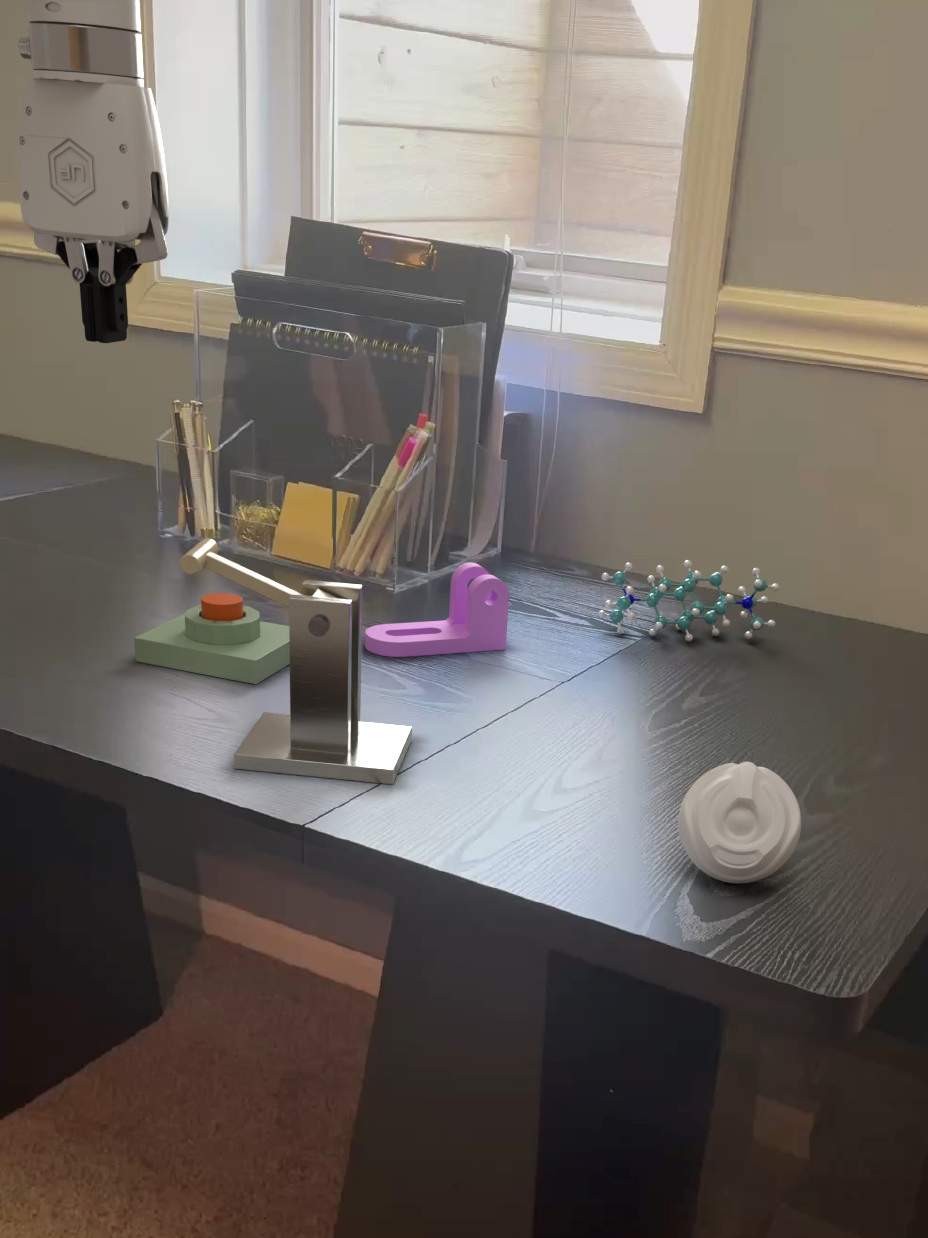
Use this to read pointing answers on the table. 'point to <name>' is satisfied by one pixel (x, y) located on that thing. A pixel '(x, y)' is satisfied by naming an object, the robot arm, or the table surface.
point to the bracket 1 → (325, 699)
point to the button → (222, 607)
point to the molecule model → (680, 595)
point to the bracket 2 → (452, 621)
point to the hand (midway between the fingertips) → (106, 340)
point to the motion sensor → (739, 822)
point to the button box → (217, 646)
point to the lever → (236, 572)
